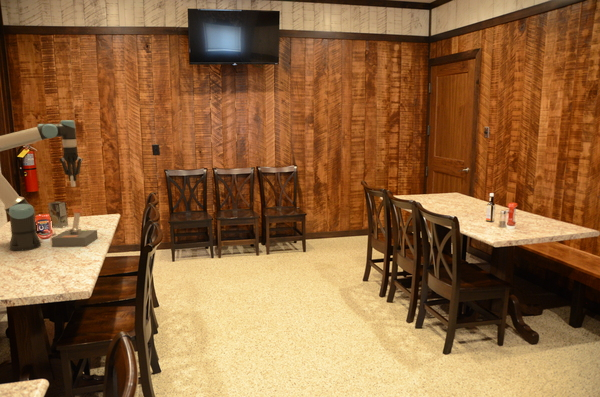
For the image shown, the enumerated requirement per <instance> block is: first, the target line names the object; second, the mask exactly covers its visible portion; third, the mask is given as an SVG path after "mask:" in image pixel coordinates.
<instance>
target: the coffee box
mask: <svg viewBox="0 0 600 397" xmlns="http://www.w3.org/2000/svg"><path fill="white" fill-rule="evenodd" d="M48 211H49V212H48V213H49V218H50V217H51V221H52V226H54V227H53V228H64V227H63V226H65V227H68V226H69V220H68V211H67V202H66V201H51V202H48ZM67 225H68V226H67Z"/></svg>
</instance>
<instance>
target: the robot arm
mask: <svg viewBox="0 0 600 397" xmlns="http://www.w3.org/2000/svg"><path fill="white" fill-rule="evenodd" d="M76 131H77V130H76V122H75V121H74V119H72V120H71V119H69V120H68V119H65V120H64V119H63V120H60V123H39V124H37V126H36V127H35V126H34V127H31V128H28V129H23V130H18V131H16V132H11V133H7V134H3V135H0V152H3V151H6V150H10V149H13V148H18V147H21V146H25V145H29V144H33V143H36V142H40V141H45V140H48V139H53V138H56V137H57V138H60V137H61V139H62V140H61V142H62V143H61V144H62V150H63V156H62V158H59V162H60V164H61V167H62V169H63V172H64V175H66V176H68V181H69V182H70V187H72V188H73V187H74V188H75V187H76V186H77V185H76V181H77V179H78V178H77V176H78V175H79V174H80V172H81V167H82V162H83V160H84V159H83V158H81V157H80V156H79V155H78V154H79V153H78V147H77V146H78V144H77V132H76ZM0 201H1V203H2V204H3V205H4V211H5V212H6V213H7V214H8V215H9V222H10V230H11V231H10V232H11V236H10V240H9V246H8V248H9V250H10V251H13V252H14V251H15V252H19V251H20V252H22V251H28V250H33V249H37V248H40V247H41V246H42V244H41V243H42V242H41V239H40V237H39V236H38V234H37V233H38V232H36V228H35V215H36V211H35V208H34V206H33V205H31V204H30V203H29V202H28V200H26V198H25V197H23V196H19V194H18V193H17V191H16V190H15V189H14V188H13V187H12V185H11V183H9V182H8V180H7V179H6V178H5V177H4V175H3V174H2V173H1V172H0Z"/></svg>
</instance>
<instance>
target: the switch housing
mask: <svg viewBox="0 0 600 397" xmlns="http://www.w3.org/2000/svg"><path fill="white" fill-rule="evenodd" d="M71 229H72V228H70V229H67V230H64V231H63V232H61V233H59V234H57V235H55V236H53V237H51V244H52V245H51V246H52V248H61V247H62V248H63V247H64V248H65V247H67V248H69V247H87V246H88V245H90V244H91V243H92V242H94V241H95V240H97V239H99V238H98V229H81V228H78V233H71Z"/></svg>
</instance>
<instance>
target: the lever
mask: <svg viewBox="0 0 600 397" xmlns="http://www.w3.org/2000/svg"><path fill="white" fill-rule="evenodd" d="M72 212H73V213H72V214H74V215H73V220H72V222H73V223H72V228H70V229H71V233H78V229H79V223H80V217H81V215H82V214H83V209H82V208H73V211H72Z"/></svg>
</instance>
